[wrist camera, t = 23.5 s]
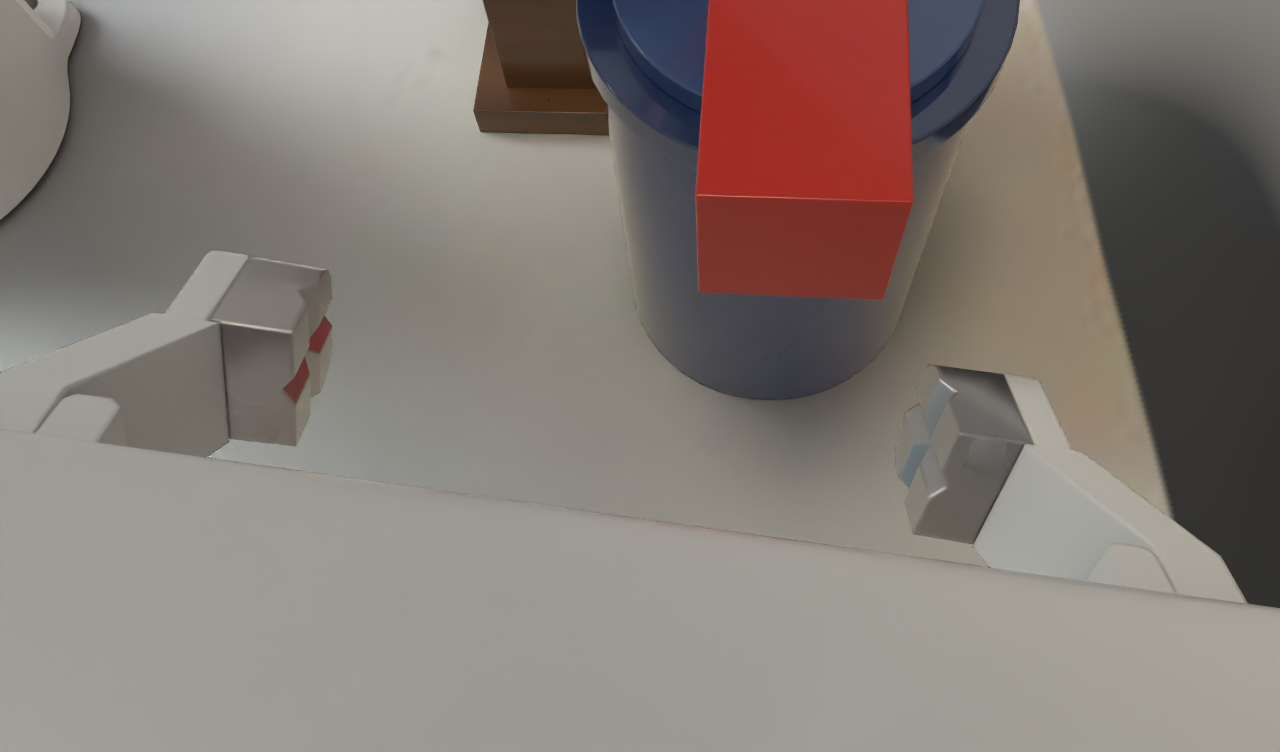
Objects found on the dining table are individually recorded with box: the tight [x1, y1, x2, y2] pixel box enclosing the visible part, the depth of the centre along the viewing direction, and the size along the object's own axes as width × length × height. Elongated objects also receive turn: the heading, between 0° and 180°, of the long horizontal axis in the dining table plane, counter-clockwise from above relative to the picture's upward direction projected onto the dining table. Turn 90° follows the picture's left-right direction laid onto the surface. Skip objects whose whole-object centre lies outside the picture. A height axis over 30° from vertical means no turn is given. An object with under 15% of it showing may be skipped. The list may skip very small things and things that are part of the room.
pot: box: [576, 0, 1020, 400], centre depth 36 cm, size 12×12×17 cm
